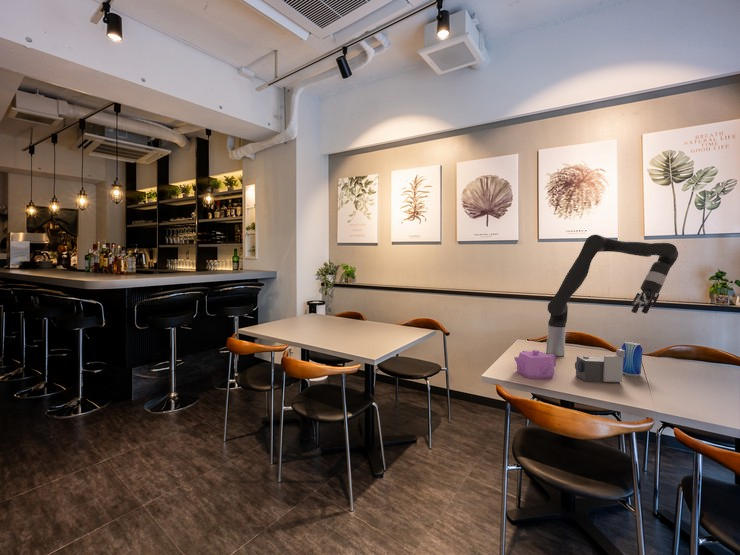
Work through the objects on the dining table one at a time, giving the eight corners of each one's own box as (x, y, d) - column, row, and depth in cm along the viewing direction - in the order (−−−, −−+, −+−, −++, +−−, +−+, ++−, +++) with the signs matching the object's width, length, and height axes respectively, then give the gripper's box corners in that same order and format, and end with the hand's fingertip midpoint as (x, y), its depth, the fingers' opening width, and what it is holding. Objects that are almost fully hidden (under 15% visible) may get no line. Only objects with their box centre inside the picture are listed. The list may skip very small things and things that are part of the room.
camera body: (581, 381, 166) (582, 359, 165) (572, 375, 174) (573, 354, 174) (620, 383, 165) (621, 360, 164) (609, 377, 173) (610, 355, 172)
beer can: (621, 370, 184) (623, 340, 183) (642, 374, 178) (644, 343, 177) (618, 374, 178) (620, 342, 177) (639, 378, 172) (641, 346, 171)
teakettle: (555, 373, 178) (556, 349, 177) (551, 383, 164) (552, 357, 163) (520, 367, 188) (520, 344, 187) (512, 376, 173) (513, 351, 173)
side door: (605, 382, 163) (607, 350, 162) (601, 379, 166) (603, 348, 165) (623, 382, 163) (625, 350, 162) (619, 380, 166) (621, 349, 165)
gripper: (636, 280, 179) (622, 309, 179) (654, 278, 165) (639, 309, 165) (651, 286, 177) (637, 315, 177) (671, 285, 163) (656, 316, 163)
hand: (638, 312), depth 171 cm, fingers open, 8 cm apart
